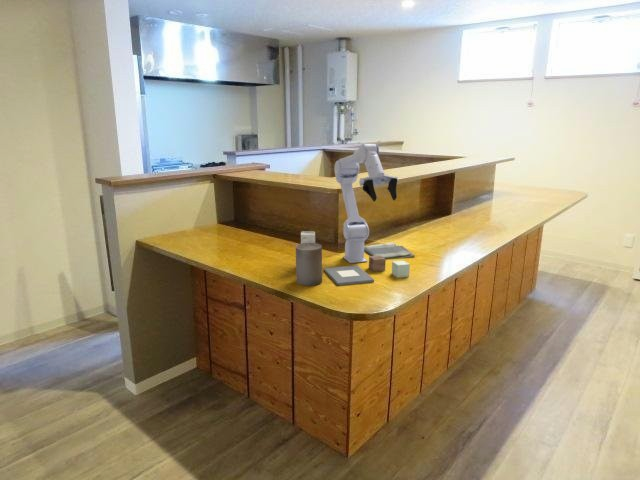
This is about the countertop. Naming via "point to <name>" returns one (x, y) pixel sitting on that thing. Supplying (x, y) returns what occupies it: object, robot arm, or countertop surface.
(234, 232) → the countertop surface
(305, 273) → the pillar candle
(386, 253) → the dish towel
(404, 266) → the sage block
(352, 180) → the robot arm
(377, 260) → the walnut block
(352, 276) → the base plate
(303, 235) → the syrup box
